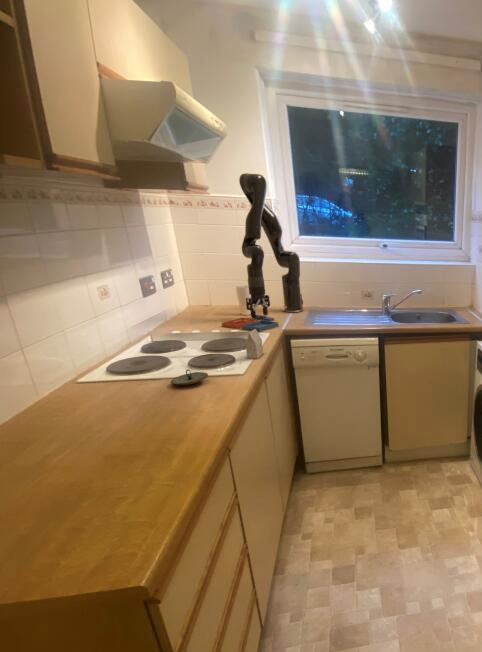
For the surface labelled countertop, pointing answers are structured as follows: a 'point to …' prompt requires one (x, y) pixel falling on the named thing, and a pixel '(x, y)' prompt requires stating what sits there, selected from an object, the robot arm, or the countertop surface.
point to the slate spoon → (264, 318)
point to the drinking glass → (243, 299)
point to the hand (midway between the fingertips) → (259, 316)
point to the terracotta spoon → (240, 321)
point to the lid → (189, 378)
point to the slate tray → (260, 325)
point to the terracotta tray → (238, 326)
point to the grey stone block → (254, 345)
